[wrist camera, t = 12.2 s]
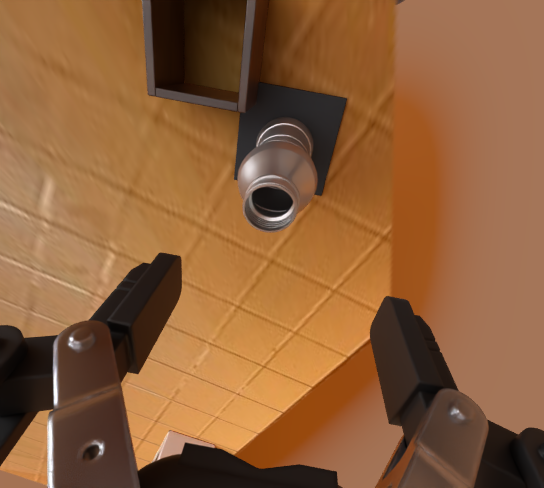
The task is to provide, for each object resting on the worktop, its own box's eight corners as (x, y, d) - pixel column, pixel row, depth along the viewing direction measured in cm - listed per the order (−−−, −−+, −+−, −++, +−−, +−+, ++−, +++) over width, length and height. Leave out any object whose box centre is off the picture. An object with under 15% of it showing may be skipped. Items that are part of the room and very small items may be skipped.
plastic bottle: (252, 122, 36) (204, 175, 19) (307, 106, 34) (309, 148, 17) (266, 172, 39) (237, 257, 22) (317, 160, 38) (328, 241, 21)
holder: (176, -29, 30) (138, -56, 23) (270, -11, 30) (260, -33, 23) (177, 89, 35) (147, 95, 29) (256, 103, 35) (245, 113, 29)
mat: (244, 79, 34) (243, 79, 34) (346, 98, 34) (347, 98, 34) (234, 178, 40) (234, 179, 40) (321, 194, 40) (321, 195, 40)
